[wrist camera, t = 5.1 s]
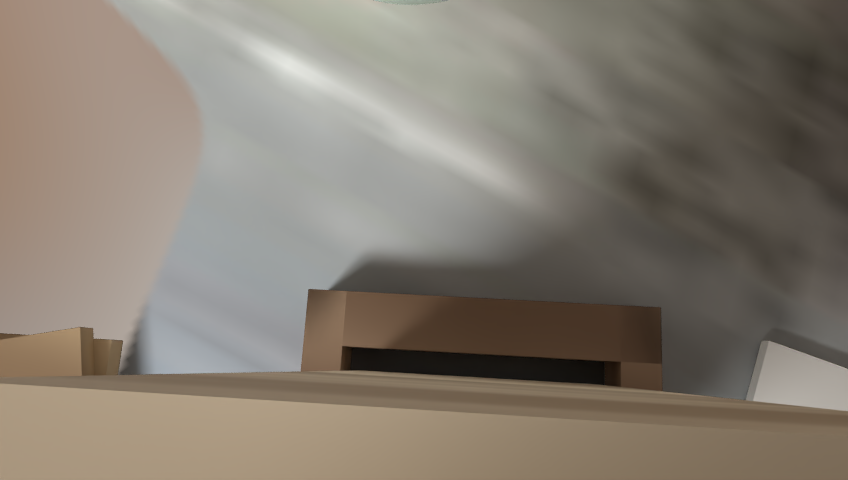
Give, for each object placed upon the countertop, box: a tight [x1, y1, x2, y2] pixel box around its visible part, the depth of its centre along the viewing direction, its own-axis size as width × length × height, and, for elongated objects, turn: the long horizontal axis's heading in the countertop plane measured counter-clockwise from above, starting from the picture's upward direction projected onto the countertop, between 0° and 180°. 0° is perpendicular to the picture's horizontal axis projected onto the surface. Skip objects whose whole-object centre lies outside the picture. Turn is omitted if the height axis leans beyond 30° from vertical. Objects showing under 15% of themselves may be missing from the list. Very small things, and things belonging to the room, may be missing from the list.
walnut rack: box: [301, 289, 662, 391], centre depth 16 cm, size 7×9×2 cm
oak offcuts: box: [0, 327, 123, 377], centre depth 16 cm, size 4×5×1 cm
